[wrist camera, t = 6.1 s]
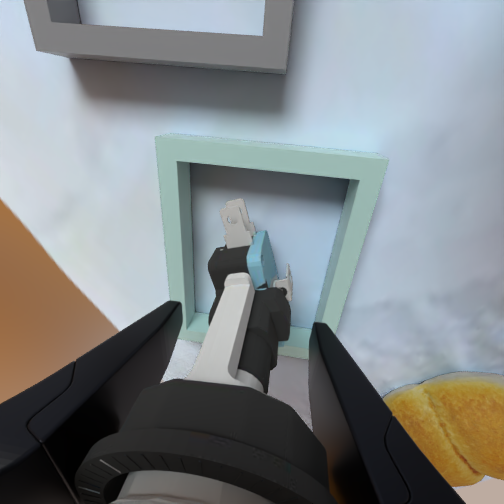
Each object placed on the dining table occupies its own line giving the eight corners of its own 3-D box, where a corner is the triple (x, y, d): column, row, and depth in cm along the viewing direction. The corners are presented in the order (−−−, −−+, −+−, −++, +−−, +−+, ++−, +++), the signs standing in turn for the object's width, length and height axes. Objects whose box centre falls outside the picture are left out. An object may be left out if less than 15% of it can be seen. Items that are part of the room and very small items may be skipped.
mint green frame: (377, 153, 11) (389, 159, 9) (323, 341, 16) (326, 362, 15) (170, 133, 11) (154, 136, 10) (182, 320, 17) (173, 338, 15)
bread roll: (349, 396, 18) (362, 464, 15) (496, 346, 15) (559, 419, 11) (406, 456, 21) (429, 526, 17) (544, 425, 17) (608, 506, 14)
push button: (182, 207, 12) (-122, 475, 3) (301, 182, 11) (319, 518, 2) (225, 320, 15) (122, 621, 6) (323, 311, 14) (368, 677, 5)
